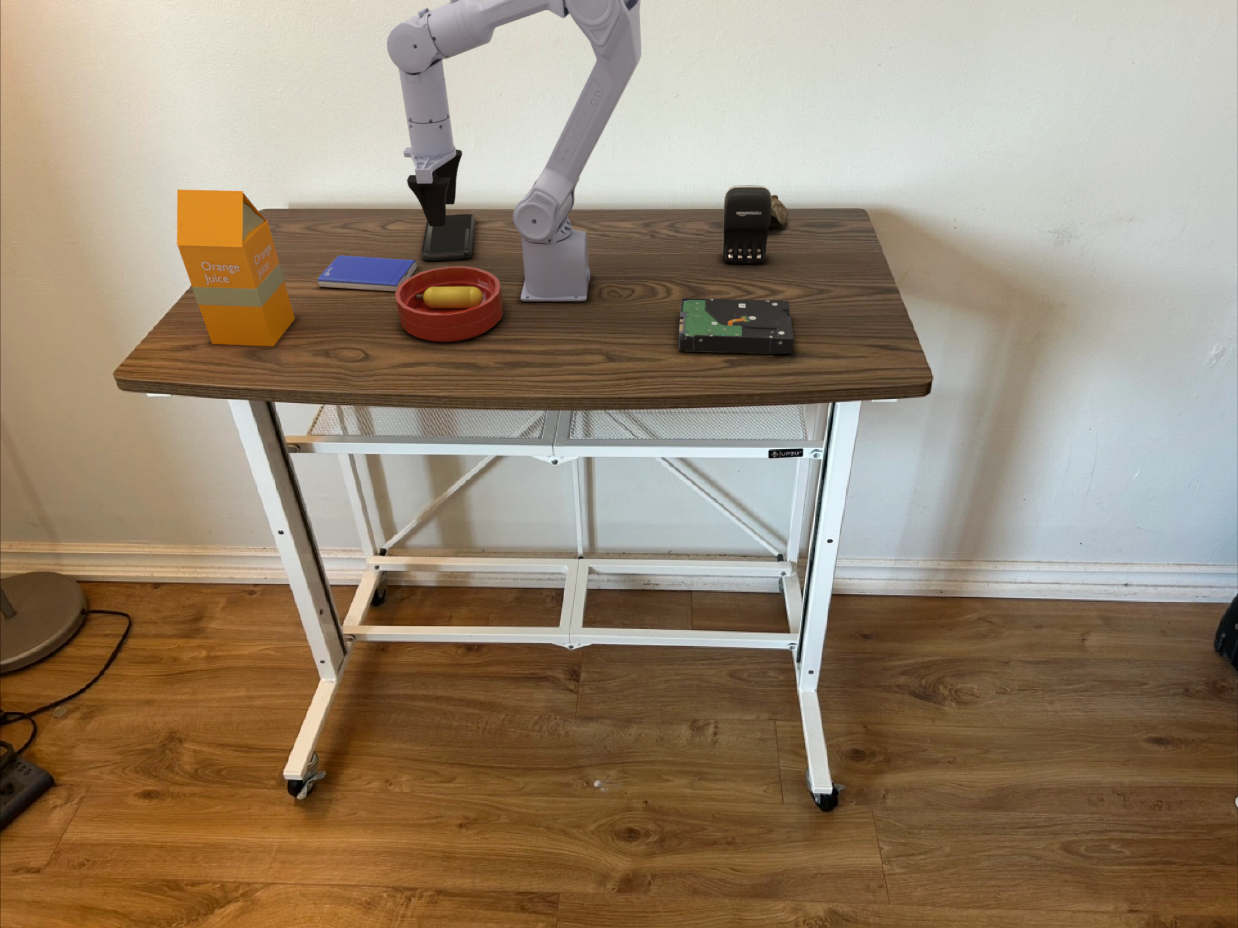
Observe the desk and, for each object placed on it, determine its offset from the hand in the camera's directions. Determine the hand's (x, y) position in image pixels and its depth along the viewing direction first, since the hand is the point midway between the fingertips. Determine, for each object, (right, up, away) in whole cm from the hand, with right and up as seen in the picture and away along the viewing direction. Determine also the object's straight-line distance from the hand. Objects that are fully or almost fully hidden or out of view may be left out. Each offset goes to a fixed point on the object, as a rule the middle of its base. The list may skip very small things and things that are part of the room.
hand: (442, 214), depth 127 cm
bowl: (+2, -15, -3) cm, 16 cm away
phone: (-2, +1, +18) cm, 18 cm away
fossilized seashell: (+48, +3, +20) cm, 52 cm away
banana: (+2, -13, -3) cm, 14 cm away
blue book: (-13, -8, +8) cm, 17 cm away
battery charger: (+44, -5, +10) cm, 46 cm away
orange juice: (-25, -18, -4) cm, 31 cm away
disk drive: (+41, -18, -7) cm, 45 cm away
